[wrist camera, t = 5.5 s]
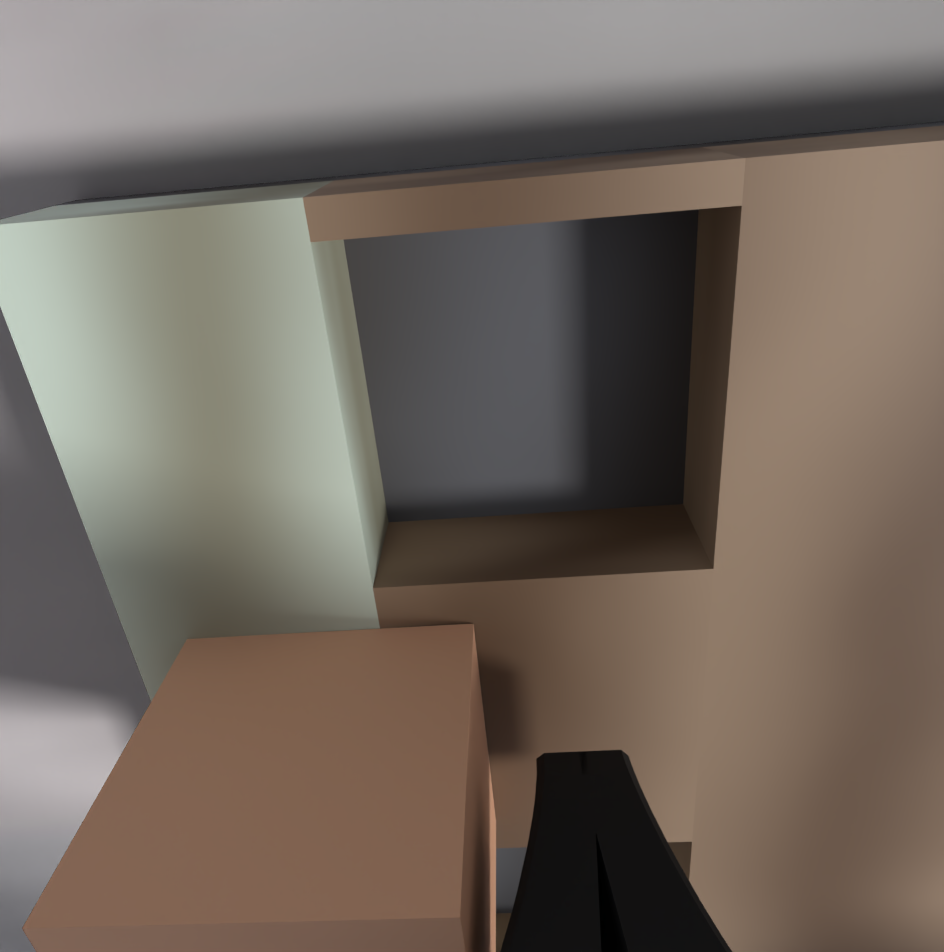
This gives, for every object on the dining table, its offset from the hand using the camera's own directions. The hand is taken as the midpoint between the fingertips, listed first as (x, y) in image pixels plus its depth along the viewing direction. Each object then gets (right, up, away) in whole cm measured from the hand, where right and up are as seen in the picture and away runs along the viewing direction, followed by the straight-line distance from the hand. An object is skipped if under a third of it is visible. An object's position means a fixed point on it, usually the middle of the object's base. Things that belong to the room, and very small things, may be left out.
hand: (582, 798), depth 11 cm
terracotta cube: (-4, 0, +1) cm, 4 cm away
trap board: (+1, +2, +3) cm, 4 cm away
